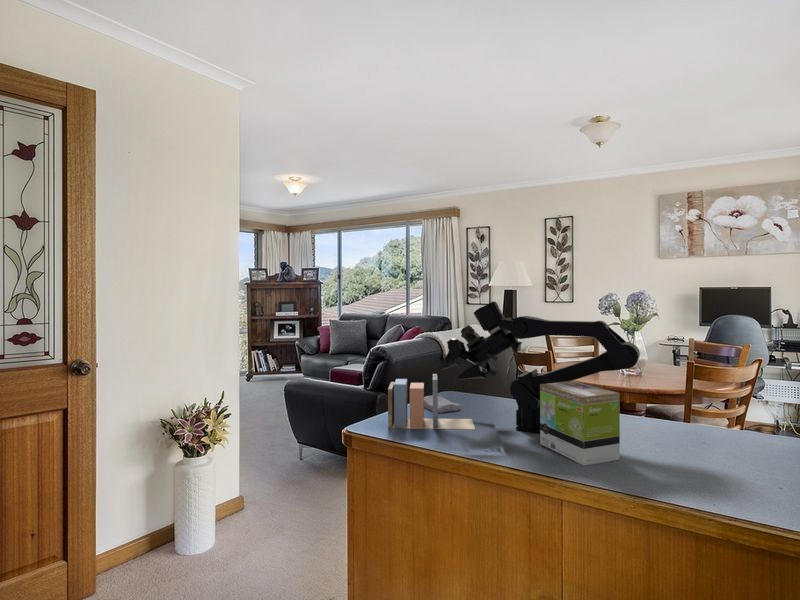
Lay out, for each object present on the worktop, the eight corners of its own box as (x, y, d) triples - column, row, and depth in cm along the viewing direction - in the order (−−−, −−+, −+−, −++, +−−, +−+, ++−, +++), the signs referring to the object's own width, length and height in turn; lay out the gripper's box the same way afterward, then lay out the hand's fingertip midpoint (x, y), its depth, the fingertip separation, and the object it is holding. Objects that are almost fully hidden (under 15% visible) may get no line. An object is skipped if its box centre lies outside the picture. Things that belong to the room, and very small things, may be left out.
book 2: (424, 419, 136) (423, 382, 136) (423, 427, 128) (423, 388, 128) (411, 419, 137) (410, 382, 136) (409, 427, 129) (409, 388, 129)
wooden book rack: (471, 423, 137) (471, 382, 136) (475, 433, 127) (475, 389, 127) (391, 422, 138) (391, 381, 138) (388, 432, 128) (387, 388, 128)
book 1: (407, 419, 137) (407, 378, 137) (405, 427, 129) (405, 384, 129) (396, 419, 137) (396, 378, 137) (394, 427, 129) (394, 384, 129)
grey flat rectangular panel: (437, 417, 137) (437, 374, 137) (437, 427, 128) (437, 379, 128) (432, 417, 137) (432, 373, 137) (432, 426, 128) (432, 379, 128)
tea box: (538, 445, 117) (538, 382, 117) (573, 441, 120) (573, 379, 120) (583, 467, 103) (583, 395, 103) (621, 460, 106) (621, 391, 106)
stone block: (443, 411, 158) (415, 408, 154) (446, 396, 158) (418, 393, 154) (463, 422, 147) (434, 419, 143) (466, 405, 147) (437, 402, 143)
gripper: (502, 333, 147) (460, 360, 153) (465, 310, 134) (421, 339, 141) (514, 365, 139) (470, 391, 146) (477, 343, 127) (430, 373, 134)
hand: (448, 373), depth 142 cm, fingers open, 9 cm apart
